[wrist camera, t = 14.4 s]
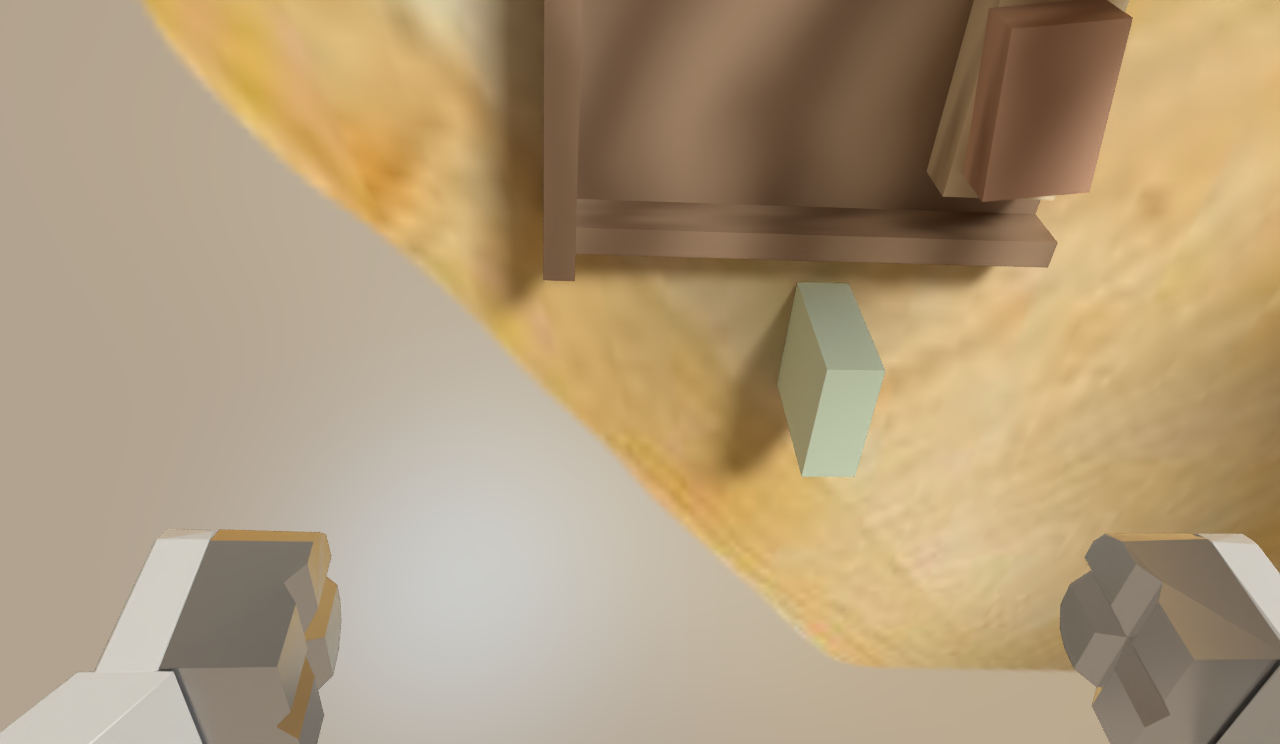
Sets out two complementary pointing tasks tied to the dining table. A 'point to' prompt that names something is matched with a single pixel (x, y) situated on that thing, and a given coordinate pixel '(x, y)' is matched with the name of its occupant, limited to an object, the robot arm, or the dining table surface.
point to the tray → (761, 135)
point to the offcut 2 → (1043, 97)
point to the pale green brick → (828, 379)
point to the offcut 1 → (968, 104)
